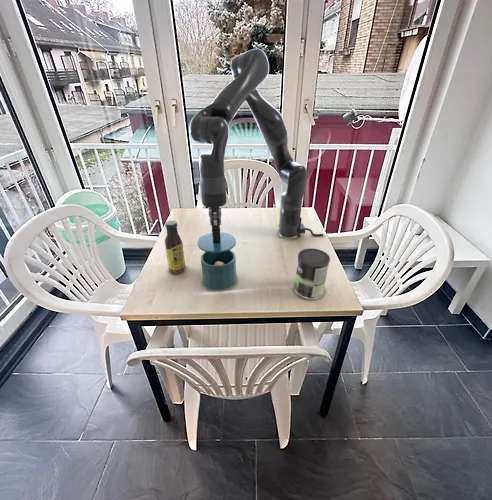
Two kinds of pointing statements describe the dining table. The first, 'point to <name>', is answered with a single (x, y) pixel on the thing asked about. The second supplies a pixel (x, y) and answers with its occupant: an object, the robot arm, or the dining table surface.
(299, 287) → the coffee can
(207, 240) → the pot lid
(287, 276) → the dining table surface
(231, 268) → the pot
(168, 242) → the sauce bottle
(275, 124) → the robot arm
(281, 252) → the dining table surface
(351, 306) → the dining table surface
